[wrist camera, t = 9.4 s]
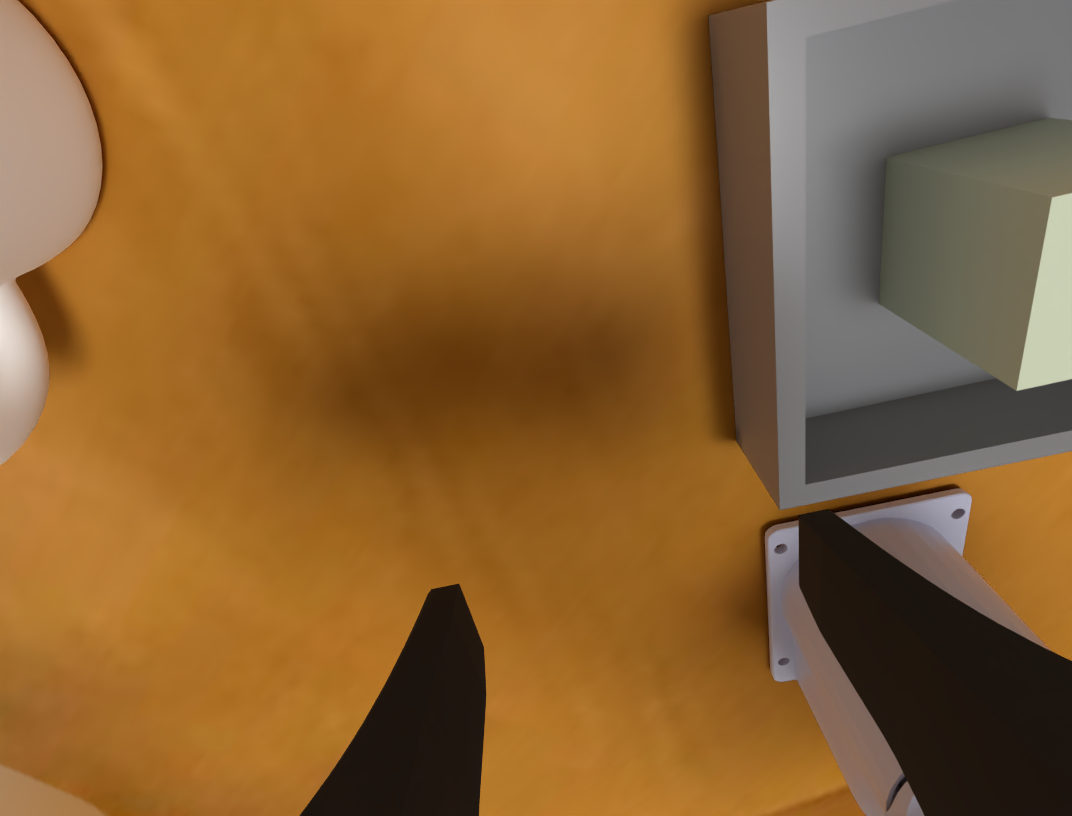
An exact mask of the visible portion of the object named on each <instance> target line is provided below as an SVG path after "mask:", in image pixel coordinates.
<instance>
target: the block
mask: <svg viewBox="0 0 1072 816" xmlns="http://www.w3.org/2000/svg"><path fill="white" fill-rule="evenodd" d="M879 304H880V305H881V306H883V307H885V308H886V309H888V310H889V311H891V312H893V313H894V314H896V315H897V316H899V317H900V318H902V319H904V320H905V321H907V322H908V323H910V324H912V325H913V326H915V327H916V328H918V329H919V330H921V331H923V332H924V333H926V334H927V335H929V336H930V337H932V338H934V339H935V340H937V341H938V342H940V343H942V344H943V345H945V346H946V347H948V348H949V349H951V350H953V351H954V352H956V353H957V354H959V355H960V356H962V357H964V358H965V359H967V360H968V361H970V362H972V363H973V364H975V365H976V366H978V367H979V368H981V369H983V370H984V371H986V372H987V373H989V374H990V375H992V376H994V377H995V378H997V379H998V380H1000V381H1002V382H1003V383H1005V384H1006V385H1008V386H1009V387H1011V388H1013V389H1014V390H1016V391H1019V390H1023V389H1028V388H1032V387H1037V386H1042V385H1046V384H1051V383H1055V382H1060V381H1065V380H1069V379H1072V120H1066V119H1056V118H1046V119H1042V120H1038V121H1034V122H1030V123H1025V124H1021V125H1017V126H1013V127H1009V128H1005V129H1001V130H997V131H993V132H989V133H984V134H980V135H976V136H972V137H968V138H964V139H960V140H956V141H952V142H948V143H943V144H939V145H935V146H931V147H927V148H923V149H919V150H915V151H911V152H907V153H902V154H898V155H894V156H890V157H887V161H886V180H885V199H884V218H883V237H882V256H881V275H880V294H879Z"/></svg>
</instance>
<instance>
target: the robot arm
mask: <svg viewBox="0 0 1072 816" xmlns="http://www.w3.org/2000/svg"><path fill="white" fill-rule="evenodd" d="M971 503H972V497H971V496H970V495H969V494H968V493H967V492H966V491H965V490H963V489H960V488H959V489H951V490H946V491H941V492H936V493H931V494H926V495H922V496H917V497H912V498H907V499H902V500H897V501H892V502H887V503H882V504H877V505H872V506H867V507H862V508H857V509H852V510H847V511H842V512H837V513H833V512H832V511H830V510H829V509H827V510H822V511H817V512H812V513H807V514H802V515H798V520H797V521H792V522H787V523H782V524H777V525H774V526H772V527H770V528H769V529H768V530H767V531H766V533H765V554H766V577H767V601H768V624H769V647H770V671H771V674H772V676H773V678H774V680H776V681H779V682H785V681H791V680H796V679H797V681H798V683H799V685H800V687H801V689H802V691H803V694H804V696H805V698H806V700H807V702H808V704H809V706H810V708H811V710H812V712H813V714H814V716H815V718H816V720H817V722H818V724H819V727H820V729H821V731H822V733H823V735H824V737H825V739H826V741H827V743H828V745H829V747H830V749H831V751H832V753H833V755H834V758H835V760H836V762H837V764H838V766H839V768H840V770H841V772H842V774H843V776H844V778H845V780H846V782H847V784H848V786H849V788H850V791H851V793H852V795H853V796H854V798H855V800H856V802H857V803H858V805H859V806H860V808H861V810H862V811H863V812H864V814H865V815H866V816H1072V661H1070V660H1068V659H1066V658H1064V657H1062V656H1060V655H1058V654H1056V653H1054V652H1052V651H1051V650H1050V649H1049V648H1048V647H1047V646H1046V645H1045V644H1044V643H1043V642H1042V641H1041V640H1040V639H1039V638H1038V636H1037V635H1036V634H1035V633H1034V632H1033V631H1032V630H1031V629H1030V628H1029V627H1028V626H1027V625H1026V624H1025V623H1024V622H1023V621H1022V619H1021V618H1020V617H1019V616H1018V615H1017V614H1016V613H1015V612H1014V611H1013V610H1012V609H1011V608H1010V607H1009V606H1008V605H1007V604H1006V602H1005V601H1004V600H1003V599H1002V598H1001V597H1000V596H999V595H998V594H997V593H996V592H995V591H994V590H993V589H992V588H991V587H990V585H989V584H988V583H987V582H986V581H985V580H984V579H983V578H982V577H981V576H980V575H979V574H978V573H977V572H976V571H975V569H974V568H973V567H972V566H971V565H970V564H969V563H968V562H967V561H966V560H965V559H964V558H963V557H962V555H963V550H964V544H965V538H966V532H967V526H968V520H969V515H970V509H971ZM780 544H782V545H781V546H779V547H776V546H777V545H780ZM485 708H486V679H485V659H484V647H483V644H482V641H481V639H480V636H479V634H478V631H477V629H476V626H475V623H474V621H473V618H472V616H471V613H470V610H469V608H468V605H467V603H466V600H465V598H464V595H463V592H462V590H461V587H460V585H459V584H455V585H450V586H445V587H440V588H436V589H431V591H430V592H429V593H428V595H427V598H426V600H425V602H424V605H423V607H422V609H421V611H420V614H419V616H418V618H417V620H416V622H415V625H414V627H413V629H412V631H411V633H410V635H409V638H408V640H407V642H406V644H405V646H404V648H403V650H402V652H401V654H400V656H399V658H398V660H397V662H396V664H395V666H394V668H393V670H392V672H391V674H390V676H389V678H388V680H387V681H386V683H385V685H384V687H383V689H382V691H381V692H380V694H379V696H378V698H377V699H376V701H375V703H374V705H373V706H372V708H371V710H370V712H369V713H368V715H367V717H366V719H365V721H364V722H363V724H362V726H361V727H360V729H359V730H358V732H357V734H356V735H355V737H354V739H353V740H352V742H351V743H350V745H349V746H348V748H347V750H346V751H345V753H344V754H343V756H342V757H341V759H340V760H339V762H338V763H337V765H336V766H335V768H334V769H333V770H332V772H331V773H330V775H329V776H328V778H327V779H326V780H325V782H324V783H323V784H322V786H321V787H320V789H319V790H318V791H317V793H316V794H315V796H314V797H313V798H312V800H311V801H310V802H309V804H308V805H307V807H306V808H305V809H304V810H303V812H302V813H301V814H300V816H479V800H480V785H481V770H482V755H483V740H484V724H485Z"/></svg>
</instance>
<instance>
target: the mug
mask: <svg viewBox="0 0 1072 816" xmlns="http://www.w3.org/2000/svg"><path fill="white" fill-rule="evenodd" d="M102 167H103V165H102V151H101V143H100V138H99V133H98V128H97V124H96V121H95V118H94V115H93V111H92V108H91V105H90V103H89V100H88V98H87V96H86V94H85V91H84V89H83V87H82V85H81V82H80V80H79V79H78V77H77V75H76V73H75V72H74V70H73V68H72V66H71V65H70V63H69V61H68V60H67V58H66V57H65V55H64V54H63V52H62V51H61V50H60V48H59V47H58V45H57V44H56V42H55V41H54V40H53V38H52V37H51V36H50V35H49V33H48V32H47V31H46V30H45V29H44V27H43V26H42V25H41V24H40V23H39V22H38V20H37V19H36V18H35V17H34V16H33V15H32V14H31V13H30V12H29V11H28V10H27V9H26V8H25V7H24V6H23V5H22V4H21V3H20V2H19V1H18V0H0V465H1V464H3V463H4V462H5V461H7V460H8V459H9V458H10V457H11V456H12V455H13V454H14V453H15V452H16V451H17V450H18V449H19V448H20V447H21V446H22V445H23V444H24V442H25V441H26V439H27V438H28V436H29V435H30V434H31V432H32V431H33V429H34V428H35V426H36V424H37V422H38V420H39V418H40V416H41V414H42V411H43V409H44V407H45V403H46V399H47V395H48V391H49V377H50V370H49V361H48V353H47V349H46V346H45V342H44V338H43V335H42V332H41V330H40V327H39V325H38V322H37V320H36V318H35V316H34V314H33V312H32V310H31V308H30V306H29V304H28V302H27V300H26V298H25V296H24V295H23V293H22V291H21V290H20V288H19V286H18V285H17V283H16V278H17V277H19V276H21V275H22V274H25V273H27V272H29V271H32V270H34V269H36V268H38V267H39V266H41V265H43V264H45V263H46V262H48V261H50V260H51V259H52V258H54V257H55V256H57V255H58V254H60V253H61V252H62V251H64V250H65V249H66V248H68V247H69V246H70V245H71V244H72V243H73V242H74V241H75V240H76V239H77V238H78V237H79V236H80V235H81V234H82V232H83V231H84V229H85V227H86V226H87V224H88V223H89V221H90V220H91V217H92V215H93V212H94V210H95V208H96V205H97V201H98V197H99V193H100V188H101V180H102Z"/></svg>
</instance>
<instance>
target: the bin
mask: <svg viewBox="0 0 1072 816" xmlns="http://www.w3.org/2000/svg"><path fill="white" fill-rule="evenodd" d="M708 17H709V32H710V47H711V62H712V78H713V93H714V108H715V123H716V138H717V153H718V168H719V183H720V199H721V214H722V229H723V244H724V259H725V274H726V289H727V304H728V320H729V335H730V350H731V365H732V380H733V395H734V410H735V425H736V441H737V443H738V445H739V446H740V448H741V449H742V451H743V453H744V454H745V456H746V457H747V459H748V461H749V462H750V464H751V465H752V467H753V468H754V470H755V472H756V473H757V475H758V476H759V478H760V480H761V481H762V483H763V484H764V486H765V488H766V489H767V491H768V492H769V494H770V495H771V497H772V499H773V500H774V502H775V503H776V505H777V507H778V508H779V510H783V509H788V508H793V507H798V506H803V505H808V504H813V503H818V502H823V501H827V500H832V499H837V498H842V497H847V496H852V495H857V494H862V493H867V492H872V491H877V490H882V489H887V488H892V487H897V486H901V485H906V484H911V483H916V482H921V481H926V480H931V479H936V478H941V477H946V476H951V475H956V474H961V473H966V472H971V471H975V470H980V469H985V468H990V467H995V466H1000V465H1005V464H1010V463H1015V462H1020V461H1025V460H1030V459H1035V458H1040V457H1045V456H1049V455H1054V454H1059V453H1064V452H1069V451H1072V379H1069V380H1065V381H1060V382H1055V383H1051V384H1046V385H1042V386H1037V387H1032V388H1028V389H1023V390H1019V391H1016V390H1014V389H1013V388H1011V387H1009V386H1008V385H1006V384H1005V383H1003V382H1002V381H1000V380H998V379H997V378H995V377H994V376H992V375H990V374H989V373H987V372H986V371H984V370H983V369H981V368H979V367H978V366H976V365H975V364H973V363H972V362H970V361H968V360H967V359H965V358H964V357H962V356H960V355H959V354H957V353H956V352H954V351H953V350H951V349H949V348H948V347H946V346H945V345H943V344H942V343H940V342H938V341H937V340H935V339H934V338H932V337H930V336H929V335H927V334H926V333H924V332H923V331H921V330H919V329H918V328H916V327H915V326H913V325H912V324H910V323H908V322H907V321H905V320H904V319H902V318H900V317H899V316H897V315H896V314H894V313H893V312H891V311H889V310H888V309H886V308H885V307H883V306H881V305H880V304H879V294H880V275H881V256H882V237H883V218H884V199H885V180H886V161H887V157H890V156H894V155H898V154H902V153H907V152H911V151H915V150H919V149H923V148H927V147H931V146H935V145H939V144H943V143H948V142H952V141H956V140H960V139H964V138H968V137H972V136H976V135H980V134H984V133H989V132H993V131H997V130H1001V129H1005V128H1009V127H1013V126H1017V125H1021V124H1025V123H1030V122H1034V121H1038V120H1042V119H1046V118H1056V119H1066V120H1072V0H768V1H764V2H760V3H756V4H752V5H748V6H744V7H740V8H736V9H732V10H728V11H724V12H720V13H716V14H713V15H709V16H708Z"/></svg>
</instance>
